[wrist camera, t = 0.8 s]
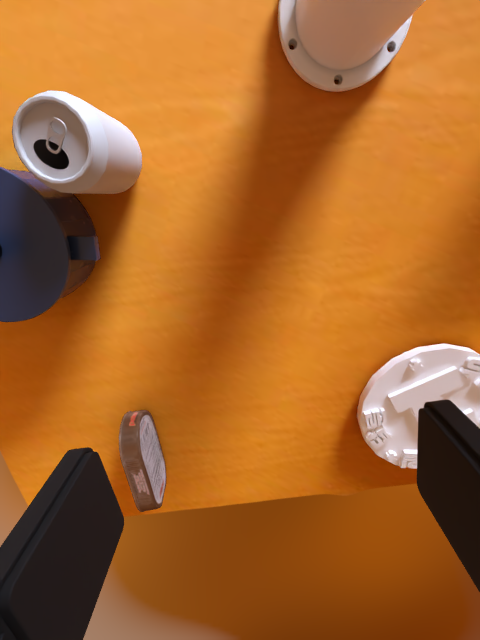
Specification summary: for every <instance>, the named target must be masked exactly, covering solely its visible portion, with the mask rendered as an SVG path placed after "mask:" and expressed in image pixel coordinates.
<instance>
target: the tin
mask: <svg viewBox="0 0 480 640" xmlns="http://www.w3.org/2000/svg"><path fill="white" fill-rule="evenodd" d="M119 451H120V458H121V462H122V465H123V468H124V471H125V474H126V477H127V480H128V483H129V486H130V489H131V492H132V495H133V498H134V501H135V504H136V507H137V509H138V510H139V511H140V512H144V511H147V510H153V509H158V508H160V507H161V506H162V501H163V497H164V491H165V487H166V467H165V461H164V457H163V453H162V449H161V445H160V442H159V438H158V434H157V431H156V427H155V424H154V420H153V418H152V416H151V414H150V413H149V412H148V411H147V410H140V411H133V412H132V411H129V412H127V413H126V414H125V415H124V417H123V419H122V422H121V426H120V432H119Z"/></svg>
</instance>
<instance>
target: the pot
mask: <svg viewBox="0 0 480 640" xmlns="http://www.w3.org/2000/svg"><path fill="white" fill-rule="evenodd" d="M7 170H8V169H7ZM8 171H10V172H12V173H14V174H16V175H18V176H19V177H21V178H22V179H24V180H25V181H27V182H28V183H29V184H30V185H32V186H33V187H34V188H35V189H36V190H37V191H38V192H39V193H40V194H41V195H42V196H43V197H44V198H45V199H46V200H47V202H48V203H49V204H50V205H51V207H52V208H53V209H54V211H55V213H56V214H57V216H58V217H59V219H60V221H61V223H62V225H63V227H64V230H65V233H66V236H67V238H68V242H69V247H70V254H71V270H70V276H69V280H68V283H67V286H66V288H65V290H64V292H63V294H62V296H61V297H60V298H59V299H61V298H62V297H64V296H66V295H68V294H70V293H71V292H73V291H75V290H76V289H77V288H78V287H79V286H81V285H82V284H83V283H84V282H85V281H86V280H87V278H88V277H89V276H90V274H91V272H92V270H93V268H94V265H95V262H96V261H97V260H99V259H101V258H100V250H99V242H98V236H96V232H95V229H94V226H93V223H92V221H91V219H90V216H89V214H88V213H87V211H86V209H85V208H84V206H83V205H82V204H81V202H80V201H79V200H78V199H77V198H76V197H75V196H74V195H73V194H72V193H63V192H59V191H57V190H54V189H52V188H49V187H47V186H46V185H44V184H43V183H42V182H41V181H39V180H38V179H37V178H35V176H34V175H33V174H32V173H31V172H26V171H17V170H8Z"/></svg>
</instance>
